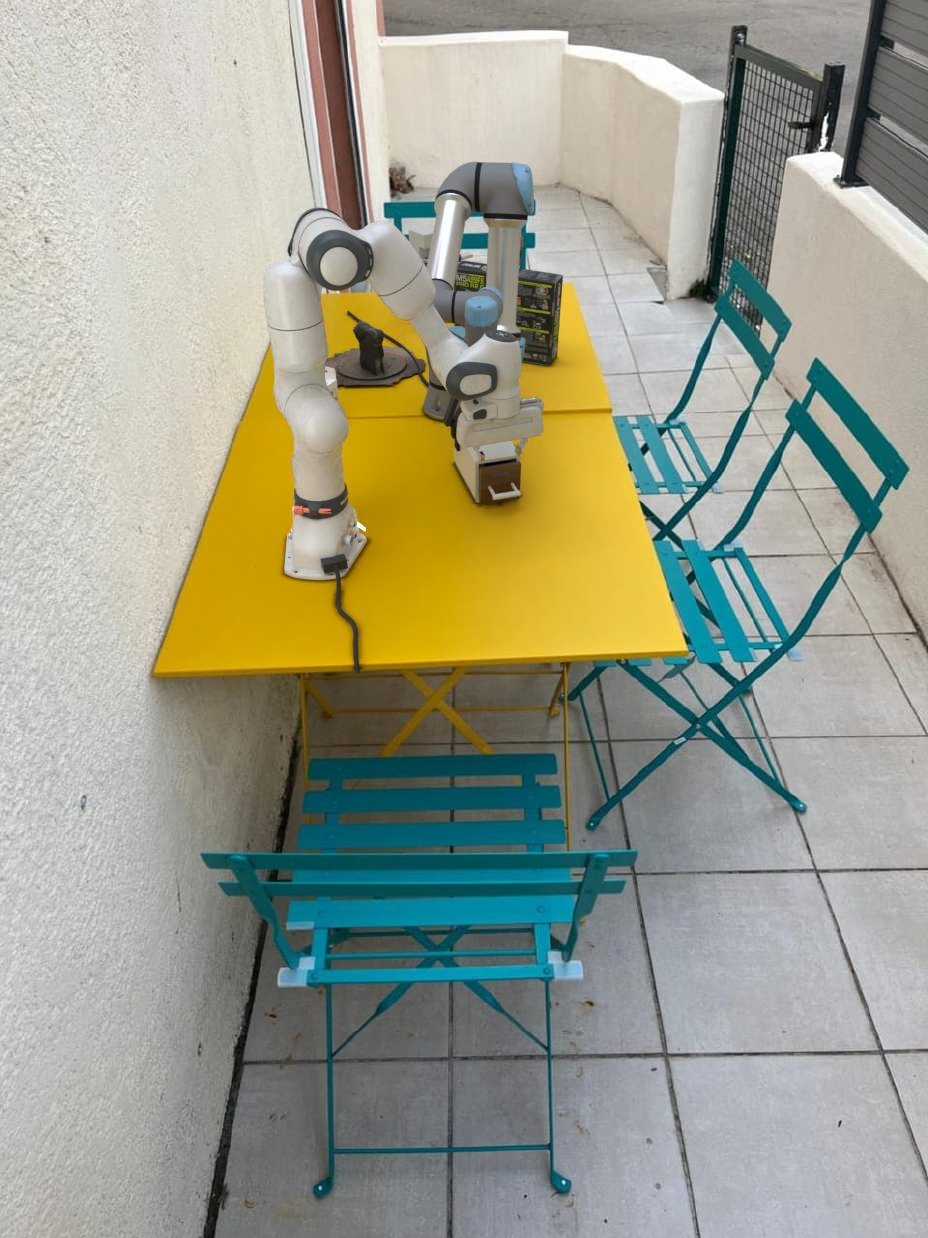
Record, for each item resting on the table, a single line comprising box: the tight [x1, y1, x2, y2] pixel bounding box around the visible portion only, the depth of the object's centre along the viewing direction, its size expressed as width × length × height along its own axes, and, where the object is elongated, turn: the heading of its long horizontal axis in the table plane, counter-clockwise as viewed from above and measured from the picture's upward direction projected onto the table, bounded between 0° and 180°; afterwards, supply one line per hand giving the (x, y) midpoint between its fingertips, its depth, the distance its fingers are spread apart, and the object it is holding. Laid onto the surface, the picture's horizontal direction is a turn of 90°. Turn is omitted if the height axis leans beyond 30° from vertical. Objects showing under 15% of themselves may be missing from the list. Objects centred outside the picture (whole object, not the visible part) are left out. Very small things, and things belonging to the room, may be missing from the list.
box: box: [453, 260, 564, 367], centre depth 277 cm, size 34×7×27 cm, turn 68°
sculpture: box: [325, 320, 426, 387], centre depth 273 cm, size 33×35×16 cm
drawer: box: [478, 459, 522, 506], centre depth 219 cm, size 24×10×10 cm, turn 16°
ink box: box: [325, 366, 340, 403], centre depth 249 cm, size 9×5×15 cm, turn 62°
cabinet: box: [453, 440, 521, 504], centre depth 223 cm, size 20×11×12 cm, turn 16°
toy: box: [408, 223, 474, 268], centre depth 298 cm, size 35×10×30 cm, turn 130°
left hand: (499, 456), depth 208 cm, fingers open, 8 cm apart
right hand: (480, 445), depth 226 cm, fingers closed on cabinet, 11 cm apart
